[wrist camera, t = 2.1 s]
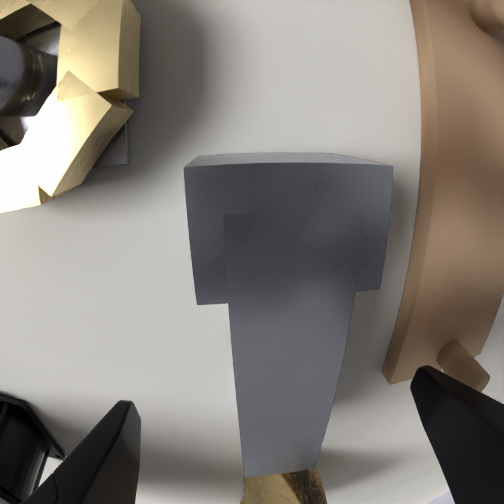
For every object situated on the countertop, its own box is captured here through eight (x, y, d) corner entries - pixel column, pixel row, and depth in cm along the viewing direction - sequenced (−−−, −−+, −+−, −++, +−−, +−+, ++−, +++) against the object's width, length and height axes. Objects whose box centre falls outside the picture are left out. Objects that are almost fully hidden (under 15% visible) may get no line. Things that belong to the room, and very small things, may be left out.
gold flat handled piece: (143, 181, 9) (124, 193, 7) (-28, 211, 8) (-58, 226, 6) (163, -120, 3) (158, -144, 2) (5, -60, 3) (-13, -73, 1)
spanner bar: (309, 403, 14) (329, 465, 10) (224, 412, 14) (228, 478, 10) (331, 153, 10) (393, 165, 6) (198, 155, 9) (183, 167, 5)
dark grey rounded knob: (129, 162, 9) (75, 181, 5) (-14, 191, 8) (-79, 219, 5) (132, -19, 6) (97, -76, 3) (-12, 38, 6) (-71, 25, 2)
